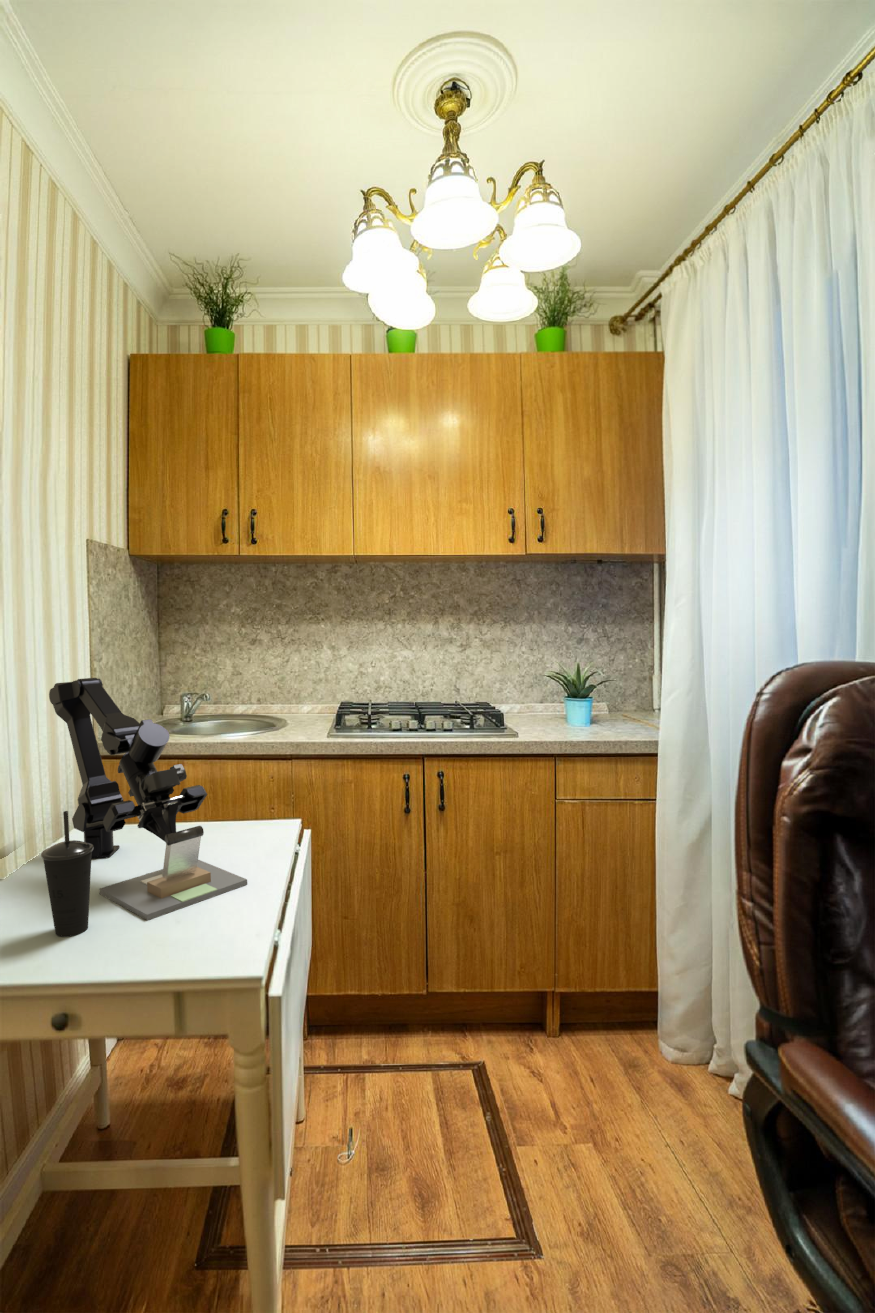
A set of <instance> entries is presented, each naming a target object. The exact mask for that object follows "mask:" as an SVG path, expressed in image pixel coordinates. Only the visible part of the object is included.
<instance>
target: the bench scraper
mask: <svg viewBox="0 0 875 1313" xmlns="http://www.w3.org/2000/svg"><path fill="white" fill-rule="evenodd" d="M204 833H205V832H204V827H203V826H202V825H197V826H194V827H189V828H186V829H182V830H178V831H176V832H174V833H170V834H167V835H165V849H164V850H165V852H164V859H163V865H162V866H163V868H162V869H163V875H162V877H163V878H164V879H165V880H166V881H167V880H171V879H174V878H177V877H180V876H183V875H186V874H189V873H192V872H195V871H197V863H198V860H199V855H200V848H201V841H202V837H203V836H204Z"/></svg>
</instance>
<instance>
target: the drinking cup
mask: <svg viewBox="0 0 875 1313" xmlns="http://www.w3.org/2000/svg"><path fill="white" fill-rule="evenodd" d="M62 815H63V830H64V831H63V833H64V841H61V842H58V843H55V844H53V845H51V846H49V847H47V848H45V849H43V850H42V851H41V853H40V857H41V859H43V865H44V872H45V878H46V884H47V890H48V896H49V897H48V898H49V902H50V908H51V914H52V919H53V920H52V921H53V926H54V933H55V935H56V936H57V937H63V938H66V937H72V936H73V937H74V936H77V935H80V934H83V933H85V931H87V930H88V928H89V916H90V912H89V911H90V894H91V893H90V892H91V891H90V890H91V875H92V873H91V872H92V870H91V869H92V858H91V855H92V851H93V848H94V847H93V845H92V844H91V843H87V842H84V841H82V840H75V839H73V840H72V839H71V840H70V825H69V811H68V810H64V811H63V813H62Z"/></svg>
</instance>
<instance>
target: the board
mask: <svg viewBox="0 0 875 1313" xmlns="http://www.w3.org/2000/svg"><path fill="white" fill-rule="evenodd" d="M162 875H163V868H162V869H158V870H155V871H152V872H149V873H146V874H142V875H139V876H135V877H132V878H129V879H125V880H122V881H119V882H116V883H113V884H110V885H105V886H103V887H99V889H98V893H99V895H101V896H102V897H104V898H106V899H108V900H110V901H112V902H113V903H116V904H117V905H119V906H121V907H123V908H124V909H125V910H128V911H129V912H132V913H133V914H135V915H137V916H139V917H140V918H142V919H144V920H145V921H150V920H151V919H155V918H158V917H161V916H163V915H166V914H169V913H171V912H175V911H177V910H180V909H183V908H186V907H188V906H191V905H194V904H197V903H199V902H202V901H206V900H208V899H210V898H214V897H217V896H220V895H222V894H224V893H228V892H230V891H233V890H236V889H239V888H241V887H244V886H247V885H248V878H245V877H243V876H239V875H237V874H235V873H232V872H230V871H228V870H225V869H222V868H220V867H218V866H215V865H213V864H210V863H208V862H206V861H203V860H201V859H198V863H197V871H195V872H192V873H189V874H186V875H183V876H180V877H177V878H174V879H171V880H167V881H166V880H165V879H164V878H163V877H162Z"/></svg>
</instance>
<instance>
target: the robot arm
mask: <svg viewBox="0 0 875 1313" xmlns="http://www.w3.org/2000/svg"><path fill="white" fill-rule="evenodd" d="M48 697H49V701H50V704H51V705H52V706H53V709H54V712H55V714H56V715H57V716H58V717H59V718H60V719H62V721H64V722H65V723H66V726H67V729H68V732H69V736H70V741H71V744H72V748H73V753H74V756H75V760H76V764H77V768H78V771H79V775H80V779H81V784H82V785H81V789H80V792H79V795H78V797H77V804H78V806H77V807H76V810H75V811H74V814H73V815H72V818H71V819H72V826H73V828H74V829H75V830H77V831H80V832H81V833H83V842H87V843H91V844H92V845H93V847H94V848H93V851H92V855H91V859H95V858H97V859H98V858H110V857H111V856H113V854H115V852H117V851H118V850H119V849H120V847H121V846H120V845H118V844H117V845H114V832H116V831H119V830H123V829H124V826H125V825H126V821H125V820H128V819H131V818H135V817H136V818H137V819H138V821H139V822H138V824H137V828H138V829H144V830H146V831H148V832H149V833H151V834H153V835H155V836H156V837H157V838H159V839H161V840H162V841H163V842H165V835H167V834H170V833H174V832H177V823H176V822H177V815H178V813H181V814H186V813H190V812H191V813H192V812H196V811H197V810H199V808H200V806H201V805H202V803H203V802H204V800H205V799H206V797H207V796H208V792H207V791H206V789H205V787H204V786H203V785H200V784H198V785H197V784H196V785H191V786H187V787H183V789H182V790H181V792H180V794H179V795H178V796H174V797H171V796H170V795H172V794H173V793H174V792H175V789H174V788H175V787H176V786H180V785H181V782H183V781H185V780H186V779H187V776H188V775H187V771H186V769H185V768H184V766H183V764H182V763H179V764H174V765H173V766H171V767H169V769H165V770H157V767H156V764H154V763H155V762H157V761H158V760H159V758H160V756H161V755H162V753H163V751H164V750H165V748H166V746H167V744H168V743H169V740H170V733H169V730H168V729H166V728H165V727H164V726H162V725H160V724H159V723H155V722H153V720H152V718H150V719H141V720H140V722H139V721H138V720H136V719H135V718H134V717H132V716H129V715H126V714H124V713H123V712H122V711H121V709H120V708H119V706H118V705H117V704H116V703H115V701H114V700H113V699H112V697H111V696H110V694H109V693H108V691H106V689H105V688H104V686H103V681H102V680H101V678H97V677H87V678H85V677H84V678H78V679H75V680H73V681H65V682H56V683H55V684H54V685H53V687H52V688H50V689H49V692H48ZM91 716H92V717H93V719H94V720H95V721H96V722H95V723H97V724H98V726H99V728H100V729H101V731H102V734H101V738H100V740H101V742H102V747H103V748H104V750H105V751H106V752H107V753H108V754H109V755H110V756H115V755H122V754H123V755H122V757H121V759H120V760H119V764H118V767H117V773H118V774H122V773H123V776H124V777H125V780H126V782H127V785H128V787H129V790H128V795H129V797H134V800H135V803H136V804H137V805H135V803H134V801H133V800H130V799H129V800H124V798H123V796H122V794H121V791H120V786H119V783H118V782H117V781H116V780H113V781H111V780H110V778H108V777H107V774H106V771H105V768H104V764H103V759H102V756H101V753H100V749H99V744H98V740H97V738H96V734H95V731H94V730H95V729H94V726H93V722H92V718H91ZM165 843H166V842H165Z"/></svg>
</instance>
